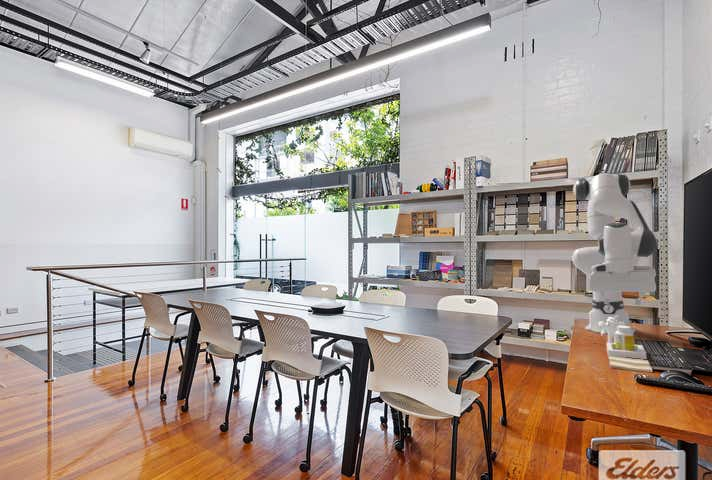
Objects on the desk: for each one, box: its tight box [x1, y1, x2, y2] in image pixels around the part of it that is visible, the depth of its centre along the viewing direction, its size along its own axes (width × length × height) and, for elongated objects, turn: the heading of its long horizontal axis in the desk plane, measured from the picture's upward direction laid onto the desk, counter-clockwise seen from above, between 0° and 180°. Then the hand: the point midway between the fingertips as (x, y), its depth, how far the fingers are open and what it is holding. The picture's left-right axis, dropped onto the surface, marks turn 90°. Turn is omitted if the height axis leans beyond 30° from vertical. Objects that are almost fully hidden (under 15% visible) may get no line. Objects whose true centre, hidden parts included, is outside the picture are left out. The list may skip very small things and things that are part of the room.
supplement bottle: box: [615, 325, 635, 351], centre depth 136 cm, size 6×6×10 cm
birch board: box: [608, 357, 653, 373], centre depth 125 cm, size 11×11×1 cm
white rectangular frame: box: [606, 342, 648, 360], centre depth 136 cm, size 11×11×2 cm
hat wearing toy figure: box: [599, 315, 625, 343], centre depth 149 cm, size 9×4×12 cm, turn 66°
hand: (622, 304), depth 136 cm, fingers open, 8 cm apart
